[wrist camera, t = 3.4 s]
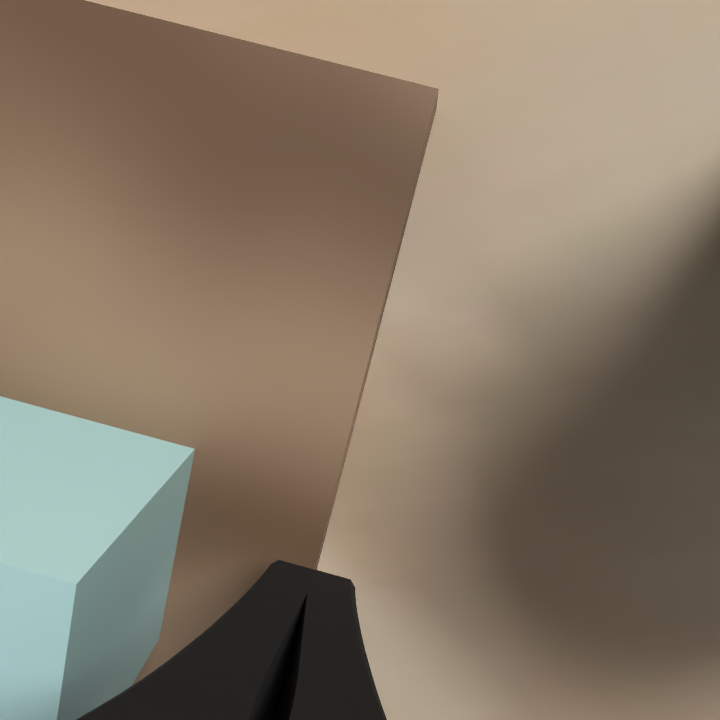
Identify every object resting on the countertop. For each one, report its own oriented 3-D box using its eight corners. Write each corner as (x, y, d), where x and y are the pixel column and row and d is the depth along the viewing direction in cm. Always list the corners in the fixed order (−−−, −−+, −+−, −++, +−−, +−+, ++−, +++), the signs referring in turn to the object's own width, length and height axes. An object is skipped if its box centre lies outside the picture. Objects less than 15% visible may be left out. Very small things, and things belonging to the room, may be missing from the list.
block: (158, 640, 12) (39, 842, 9) (-44, 582, 13) (-250, 758, 9) (195, 449, 11) (76, 584, 8) (-26, 389, 12) (-254, 492, 8)
